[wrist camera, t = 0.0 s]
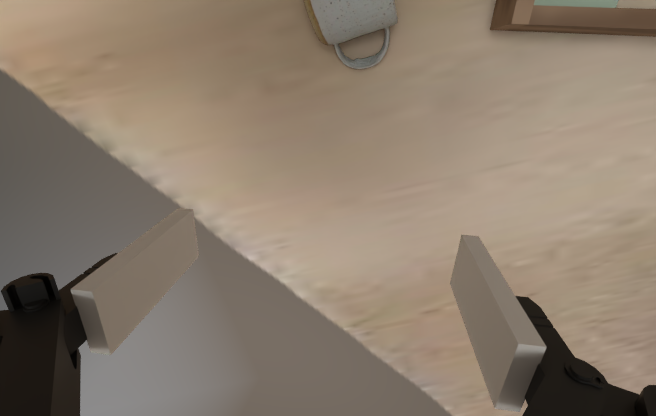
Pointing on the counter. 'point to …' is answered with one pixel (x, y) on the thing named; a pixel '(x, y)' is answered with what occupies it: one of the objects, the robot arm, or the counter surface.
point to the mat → (578, 3)
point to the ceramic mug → (351, 24)
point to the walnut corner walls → (572, 19)
